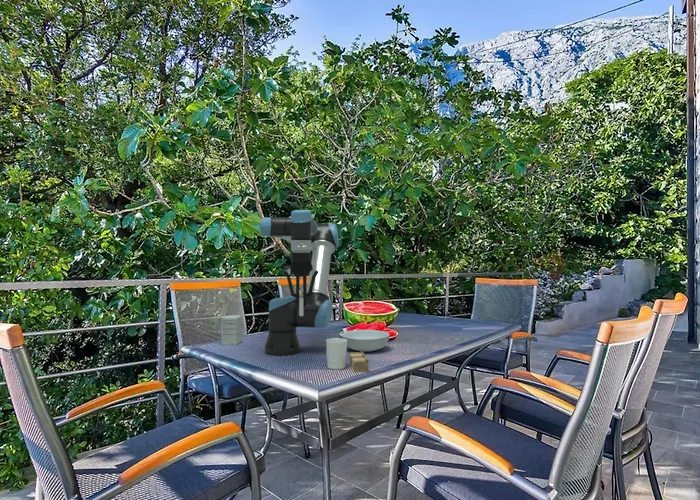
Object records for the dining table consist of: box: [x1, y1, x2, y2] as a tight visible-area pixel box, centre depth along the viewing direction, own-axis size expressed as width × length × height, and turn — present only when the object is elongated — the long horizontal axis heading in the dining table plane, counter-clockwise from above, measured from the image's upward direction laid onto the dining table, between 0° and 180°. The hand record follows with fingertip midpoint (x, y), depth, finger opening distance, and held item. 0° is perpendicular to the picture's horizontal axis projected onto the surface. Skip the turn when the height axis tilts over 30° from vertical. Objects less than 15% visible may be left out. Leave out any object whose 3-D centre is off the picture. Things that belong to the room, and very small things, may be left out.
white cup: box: [325, 337, 348, 370], centre depth 159 cm, size 8×8×10 cm
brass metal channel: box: [348, 351, 369, 373], centre depth 160 cm, size 15×5×4 cm, turn 7°
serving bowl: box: [341, 329, 390, 353], centre depth 188 cm, size 21×21×7 cm
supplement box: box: [220, 315, 243, 346], centre depth 199 cm, size 7×7×13 cm
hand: (301, 315), depth 159 cm, fingers closed
